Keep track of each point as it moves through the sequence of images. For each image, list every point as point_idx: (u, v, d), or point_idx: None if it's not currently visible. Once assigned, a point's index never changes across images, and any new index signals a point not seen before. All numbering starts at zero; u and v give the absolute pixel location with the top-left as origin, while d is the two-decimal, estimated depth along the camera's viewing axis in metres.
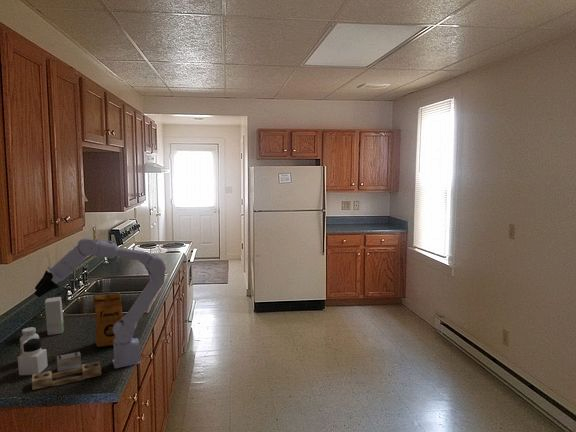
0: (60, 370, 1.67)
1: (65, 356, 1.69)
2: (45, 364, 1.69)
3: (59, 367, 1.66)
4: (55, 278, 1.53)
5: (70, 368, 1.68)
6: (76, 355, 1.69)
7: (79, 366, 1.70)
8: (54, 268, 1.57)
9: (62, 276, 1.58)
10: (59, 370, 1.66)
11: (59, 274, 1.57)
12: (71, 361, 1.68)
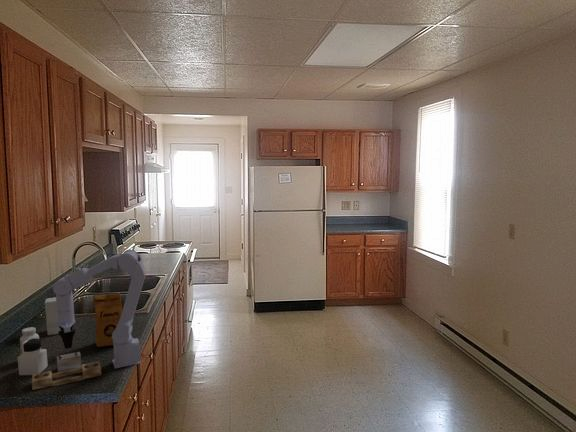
0: (60, 370, 1.67)
1: (65, 356, 1.69)
2: (45, 364, 1.69)
3: (59, 367, 1.66)
4: (65, 329, 1.61)
5: (70, 368, 1.68)
6: (76, 355, 1.69)
7: (79, 366, 1.70)
8: (59, 321, 1.65)
9: (70, 320, 1.66)
10: (59, 370, 1.66)
11: (67, 321, 1.65)
12: (71, 361, 1.68)
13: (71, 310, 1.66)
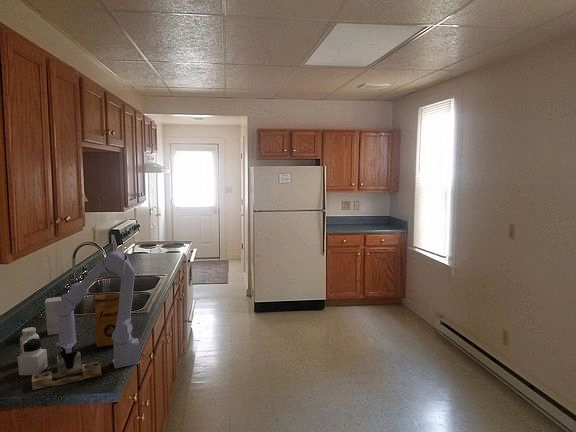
0: (60, 370, 1.67)
1: None
2: (45, 364, 1.69)
3: (59, 367, 1.66)
4: (67, 349, 1.62)
5: None
6: (76, 355, 1.69)
7: (79, 366, 1.70)
8: (60, 341, 1.66)
9: (72, 341, 1.67)
10: (59, 370, 1.66)
11: (68, 342, 1.66)
12: None
13: (72, 330, 1.67)
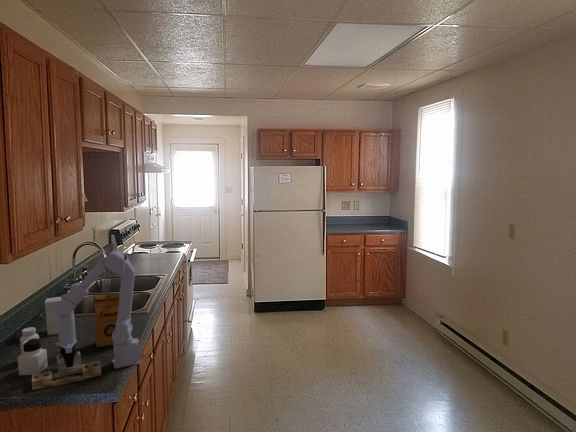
0: (60, 370, 1.67)
1: None
2: (45, 364, 1.69)
3: (59, 367, 1.66)
4: (67, 349, 1.62)
5: (70, 368, 1.68)
6: (76, 355, 1.69)
7: (79, 366, 1.70)
8: (60, 341, 1.66)
9: (72, 341, 1.67)
10: (59, 370, 1.66)
11: (68, 342, 1.66)
12: None
13: (72, 330, 1.67)
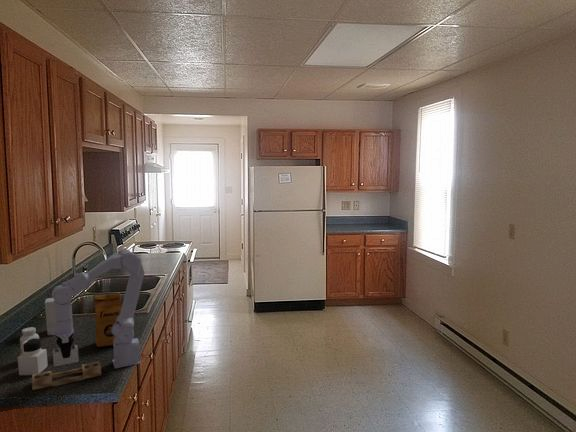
0: (56, 364, 1.58)
1: None
2: (45, 364, 1.69)
3: (55, 360, 1.58)
4: (63, 339, 1.54)
5: (67, 362, 1.60)
6: (73, 348, 1.61)
7: (76, 360, 1.61)
8: (57, 331, 1.58)
9: (69, 330, 1.59)
10: (55, 364, 1.58)
11: (65, 331, 1.58)
12: None
13: (69, 319, 1.59)
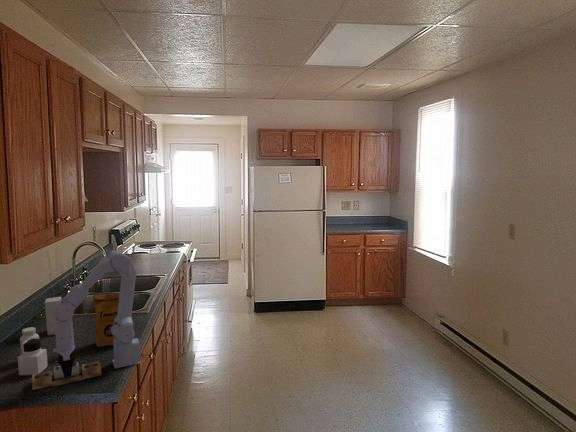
0: None
1: None
2: (45, 364, 1.69)
3: (56, 378, 1.57)
4: (64, 357, 1.53)
5: None
6: (74, 365, 1.61)
7: None
8: (58, 348, 1.57)
9: (70, 347, 1.58)
10: None
11: (66, 348, 1.57)
12: None
13: (70, 336, 1.58)
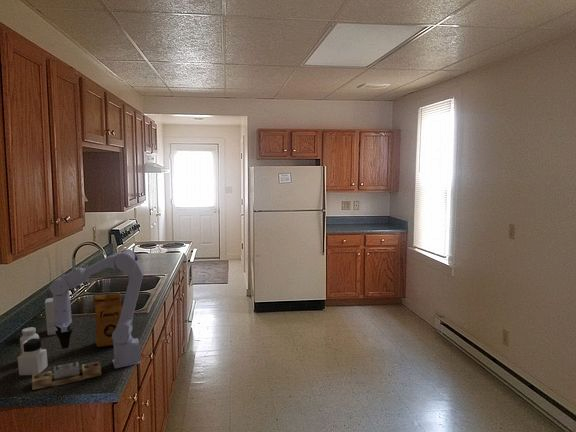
0: None
1: (62, 367, 1.60)
2: (45, 364, 1.69)
3: (56, 378, 1.57)
4: (62, 328, 1.61)
5: None
6: (74, 365, 1.60)
7: None
8: (56, 321, 1.65)
9: (67, 320, 1.66)
10: None
11: (63, 321, 1.65)
12: (69, 372, 1.59)
13: (68, 310, 1.66)
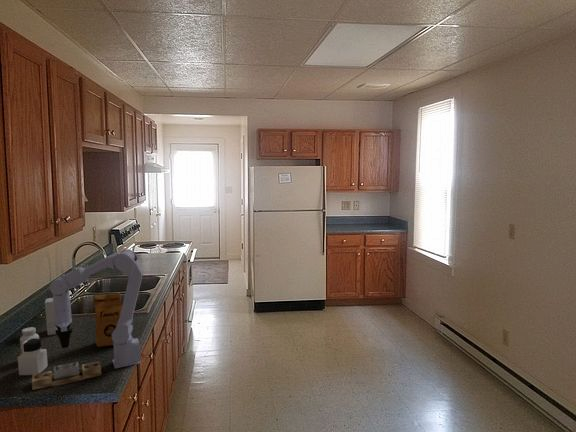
0: None
1: (62, 367, 1.60)
2: (45, 364, 1.69)
3: (56, 378, 1.57)
4: (62, 328, 1.62)
5: None
6: (74, 365, 1.60)
7: None
8: (56, 320, 1.65)
9: (67, 320, 1.67)
10: None
11: (63, 321, 1.66)
12: (69, 372, 1.59)
13: (68, 309, 1.67)
